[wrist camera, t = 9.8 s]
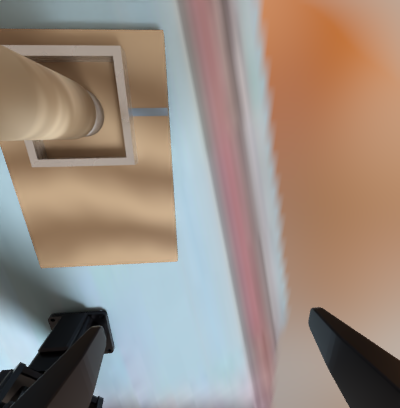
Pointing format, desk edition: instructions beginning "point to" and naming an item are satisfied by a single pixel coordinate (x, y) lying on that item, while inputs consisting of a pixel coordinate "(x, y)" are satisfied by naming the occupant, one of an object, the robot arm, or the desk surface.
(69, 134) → the beige rounded cylinder
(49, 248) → the subfloor panel
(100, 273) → the desk surface
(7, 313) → the desk surface
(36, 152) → the collar
